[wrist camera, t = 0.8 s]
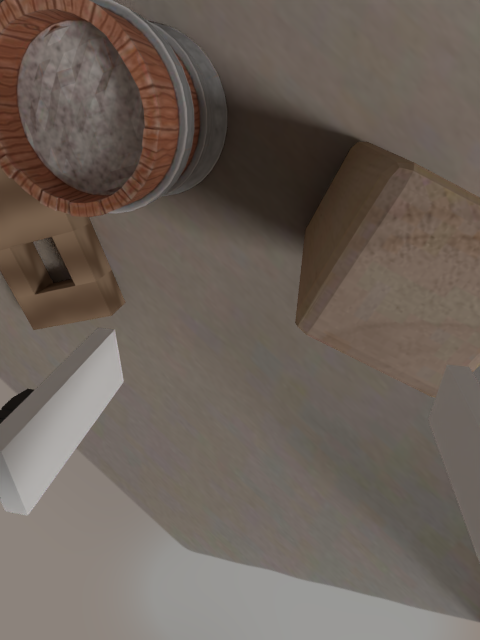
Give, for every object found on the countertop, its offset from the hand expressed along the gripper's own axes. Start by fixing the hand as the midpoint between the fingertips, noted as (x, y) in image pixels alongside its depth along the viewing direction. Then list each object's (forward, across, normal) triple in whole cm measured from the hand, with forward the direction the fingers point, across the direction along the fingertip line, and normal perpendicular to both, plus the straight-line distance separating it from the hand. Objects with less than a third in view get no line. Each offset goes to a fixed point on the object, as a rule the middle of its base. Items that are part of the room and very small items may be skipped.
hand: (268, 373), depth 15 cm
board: (+26, -28, -3) cm, 38 cm away
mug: (+26, -15, +11) cm, 32 cm away
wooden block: (+26, +7, +1) cm, 27 cm away
